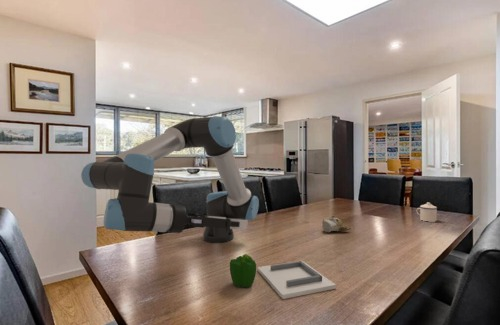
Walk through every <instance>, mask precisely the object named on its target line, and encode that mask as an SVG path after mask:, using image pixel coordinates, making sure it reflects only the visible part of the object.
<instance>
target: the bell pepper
mask: <svg viewBox="0 0 500 325" xmlns="http://www.w3.org/2000/svg"><path fill="white" fill-rule="evenodd" d="M229 272H230V277H231V282H232V284H233V286H235V287H237V288H240V287H242V288H250V287H251V286H252V285H253V284H254V282H255V279H256V275H257V262H256V260H254V259H253V257H252V256H250V255H249V254H246V253H245V254H243V255H240V256H237V257H236V258H233V259H231V260H230V261H229Z"/></svg>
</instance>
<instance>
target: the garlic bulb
mask: <svg viewBox="0 0 500 325" xmlns="http://www.w3.org/2000/svg"><path fill="white" fill-rule="evenodd" d="M321 223H322V226H321V227H322V230H323V231H324V232H325V233H327V232H328V233H327V234H329V233H331V232H333V231H337V232H347V231H349V230H351V227H347V226H346V225H343V222H342V220H341V219H339V218H338V217H336V216H334V215H332V216H330V217H329V219H328V220H327V219H322V222H321Z"/></svg>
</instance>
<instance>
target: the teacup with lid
mask: <svg viewBox="0 0 500 325" xmlns="http://www.w3.org/2000/svg"><path fill="white" fill-rule="evenodd" d="M437 209H438V207H437V206H435V205H433V204H432V203H431V202H428V201H427V202H426V203H425V204H421V205H420V206H419V207H417V208H416V213H417V215H418V216H419V217H420V218H419V219H420V220H419V221H421V220H423V221H422V222H424V221H429V222H428V223H436V222H435V221H437V218H438V216H437V215H438V213H437V212H438V210H437Z"/></svg>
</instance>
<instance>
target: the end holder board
mask: <svg viewBox="0 0 500 325" xmlns="http://www.w3.org/2000/svg"><path fill="white" fill-rule="evenodd" d="M257 272H258V273H259V274H260V276H262V277H263V278H264V280H265V281H266V282H267V284H269V285H270V286H271V288H272V289H273V290H274V291H275V292H276V294H278V296H279V297H280V298H281V299H282V300H285V299H289V298H295V297H299V296H305V295H311V294H315V293H321V292H326V291H329V290H334V289H335V290H336V288H337V284H336V283H334V282H333V281H331V280H330V279H329V278H327V277H326V276H325V275H323V274H321V273H320V272H319V271H318V270H316V269H315V268H313V267H312V266H310V265H309V264H308V263H306V262H305V261H304V260H298V261H292V262H284V263H278V264H270V265H262V266H258V267H257Z"/></svg>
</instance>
